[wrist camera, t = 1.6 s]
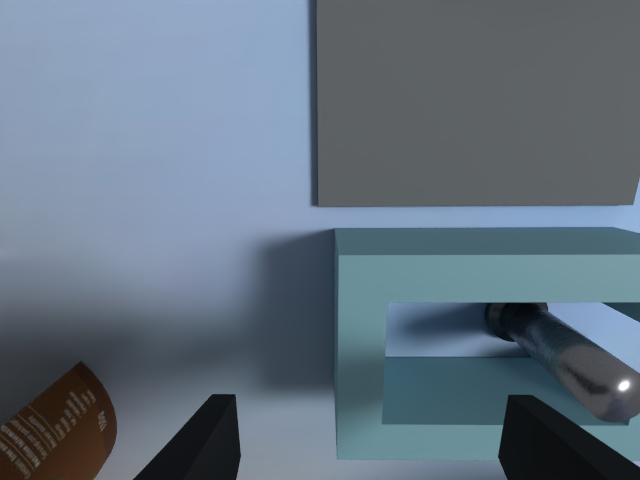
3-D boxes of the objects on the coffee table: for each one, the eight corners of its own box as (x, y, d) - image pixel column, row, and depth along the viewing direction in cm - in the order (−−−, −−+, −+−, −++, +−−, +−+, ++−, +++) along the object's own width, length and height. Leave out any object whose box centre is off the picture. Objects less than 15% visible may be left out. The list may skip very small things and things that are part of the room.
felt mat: (626, 203, 13) (633, 205, 13) (318, 205, 13) (318, 206, 13) (686, -52, 11) (695, -57, 11) (316, -45, 11) (316, -51, 11)
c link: (334, 385, 16) (337, 459, 12) (334, 228, 14) (338, 255, 10) (577, 386, 15) (662, 461, 12) (613, 227, 13) (729, 254, 10)
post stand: (537, 337, 15) (653, 433, 10) (482, 337, 15) (567, 433, 10) (546, 285, 14) (676, 359, 9) (488, 286, 14) (584, 359, 9)
